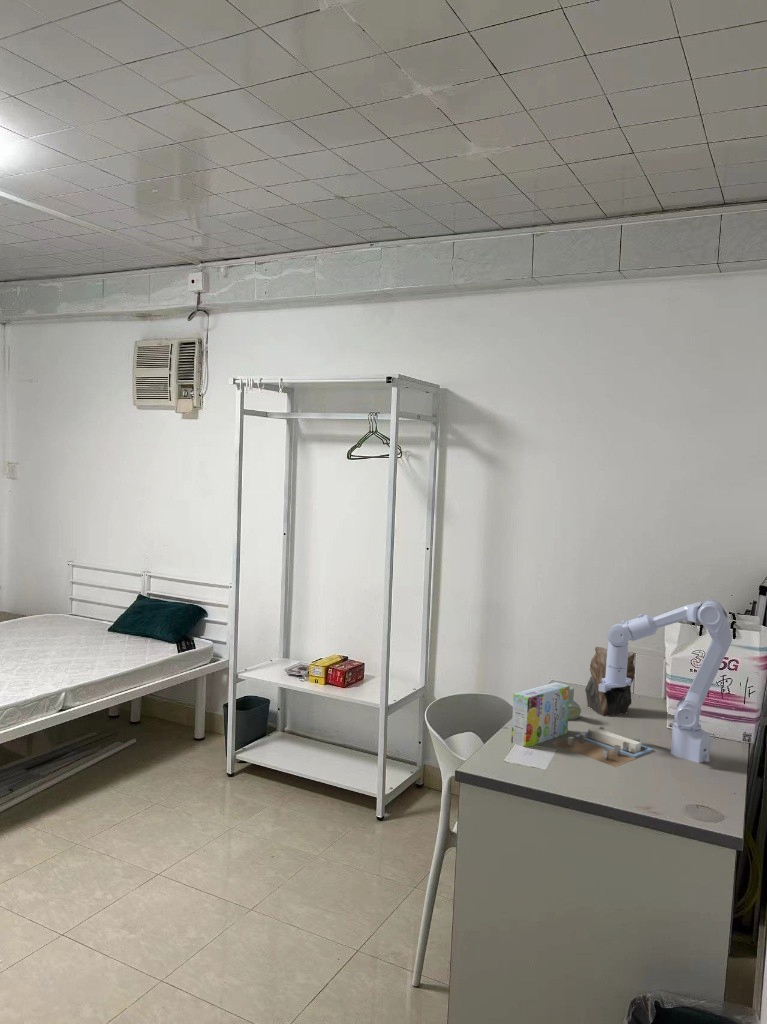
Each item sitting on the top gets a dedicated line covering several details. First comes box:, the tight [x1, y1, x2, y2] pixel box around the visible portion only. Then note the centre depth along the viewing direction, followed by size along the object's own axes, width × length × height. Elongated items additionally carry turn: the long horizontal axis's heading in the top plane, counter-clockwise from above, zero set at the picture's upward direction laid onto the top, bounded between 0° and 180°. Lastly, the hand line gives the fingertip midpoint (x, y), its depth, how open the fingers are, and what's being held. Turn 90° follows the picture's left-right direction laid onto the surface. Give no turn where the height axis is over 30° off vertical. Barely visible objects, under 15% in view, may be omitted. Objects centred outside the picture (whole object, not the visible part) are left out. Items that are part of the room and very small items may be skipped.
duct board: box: [550, 735, 656, 768], centre depth 210 cm, size 20×21×1 cm
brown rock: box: [585, 646, 636, 717], centre depth 249 cm, size 13×13×20 cm
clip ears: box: [567, 726, 641, 760], centre depth 210 cm, size 12×17×2 cm
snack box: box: [510, 681, 571, 748], centre depth 215 cm, size 21×6×15 cm, turn 134°
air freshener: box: [568, 685, 582, 720], centre depth 237 cm, size 11×8×10 cm
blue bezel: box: [573, 730, 654, 758], centre depth 213 cm, size 19×10×1 cm, turn 42°
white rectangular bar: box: [587, 726, 642, 753], centre depth 213 cm, size 15×3×2 cm, turn 42°
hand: (613, 713), depth 216 cm, fingers closed
